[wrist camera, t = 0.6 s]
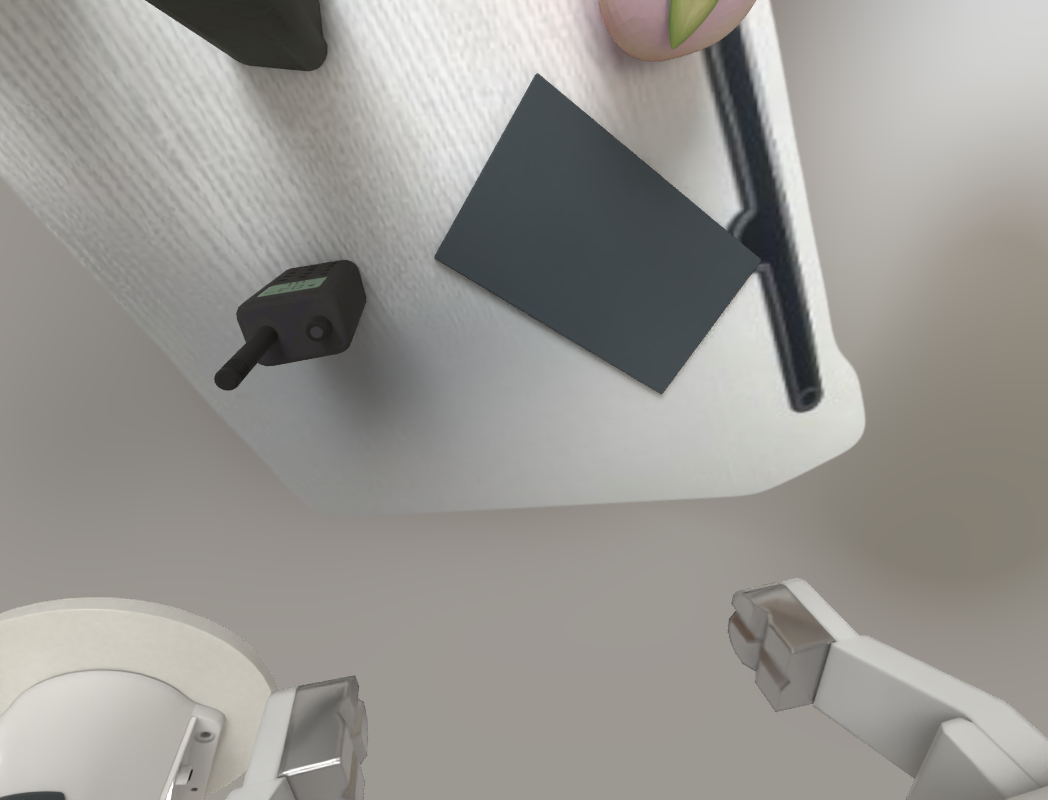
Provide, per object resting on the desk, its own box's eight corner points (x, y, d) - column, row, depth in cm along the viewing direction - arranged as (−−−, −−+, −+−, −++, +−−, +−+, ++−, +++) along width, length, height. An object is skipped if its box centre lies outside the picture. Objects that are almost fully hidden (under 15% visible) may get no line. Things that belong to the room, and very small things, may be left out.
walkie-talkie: (355, 257, 31) (311, 320, 17) (369, 310, 32) (339, 406, 19) (275, 270, 30) (164, 346, 17) (293, 323, 31) (205, 433, 18)
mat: (757, 258, 36) (762, 259, 36) (659, 392, 39) (661, 394, 39) (535, 74, 29) (537, 72, 28) (434, 256, 32) (434, 258, 31)
